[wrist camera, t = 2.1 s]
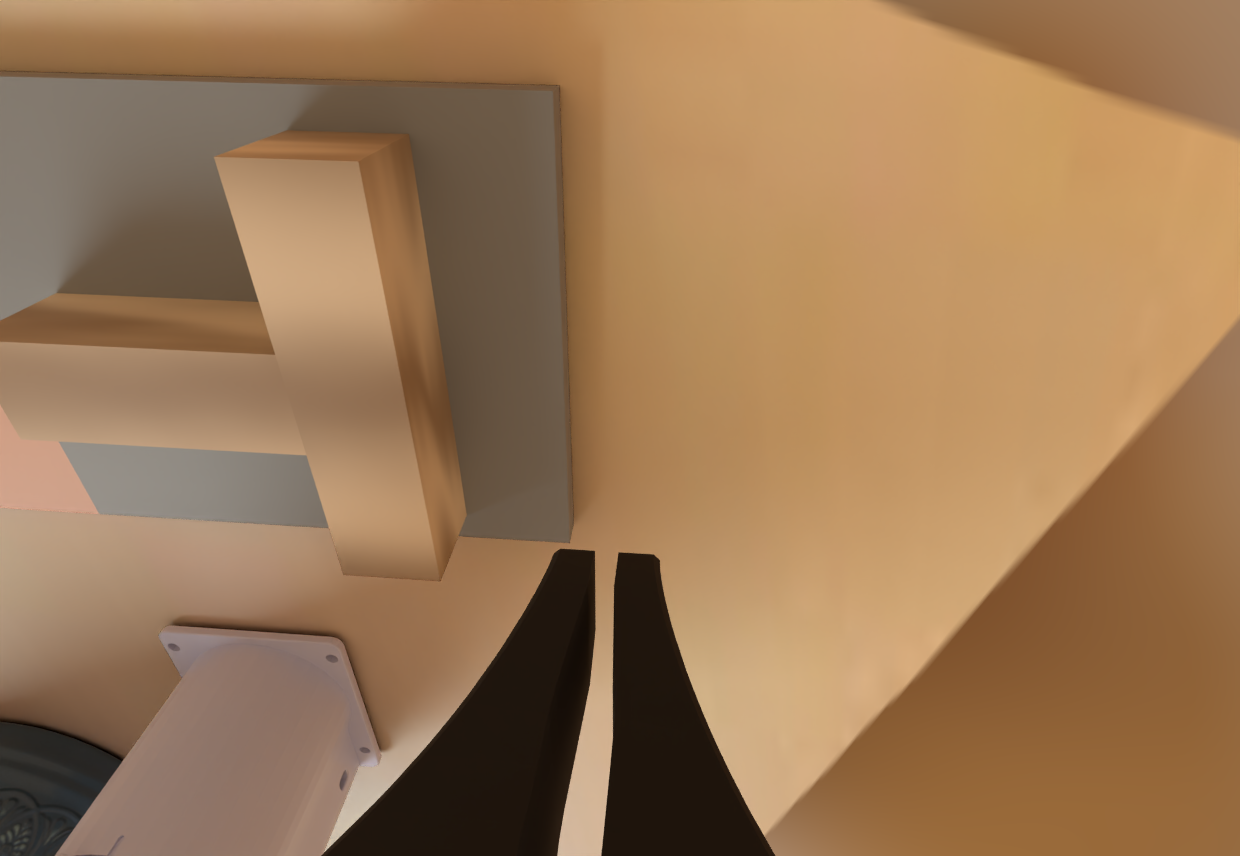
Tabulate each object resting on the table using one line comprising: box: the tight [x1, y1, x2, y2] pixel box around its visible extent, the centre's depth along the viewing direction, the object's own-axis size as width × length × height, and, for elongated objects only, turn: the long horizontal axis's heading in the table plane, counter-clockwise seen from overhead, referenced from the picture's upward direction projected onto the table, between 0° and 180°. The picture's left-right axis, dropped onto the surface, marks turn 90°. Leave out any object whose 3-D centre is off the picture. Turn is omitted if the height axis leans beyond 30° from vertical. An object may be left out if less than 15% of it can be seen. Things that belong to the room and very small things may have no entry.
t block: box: [0, 130, 467, 581], centre depth 18 cm, size 12×11×3 cm
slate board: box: [0, 71, 574, 543], centre depth 20 cm, size 14×32×1 cm, turn 90°
